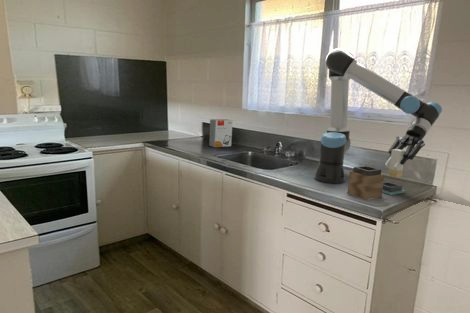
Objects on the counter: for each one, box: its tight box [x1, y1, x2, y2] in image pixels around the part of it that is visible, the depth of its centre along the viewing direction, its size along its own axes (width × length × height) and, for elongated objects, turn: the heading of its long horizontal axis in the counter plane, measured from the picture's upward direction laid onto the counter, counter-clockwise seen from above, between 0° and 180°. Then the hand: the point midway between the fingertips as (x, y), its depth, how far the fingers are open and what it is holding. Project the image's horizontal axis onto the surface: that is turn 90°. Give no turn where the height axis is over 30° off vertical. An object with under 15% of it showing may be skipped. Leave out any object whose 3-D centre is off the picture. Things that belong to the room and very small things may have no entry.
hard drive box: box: [208, 118, 234, 148], centre depth 255 cm, size 16×8×20 cm, turn 125°
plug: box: [388, 149, 406, 178], centre depth 155 cm, size 4×4×12 cm
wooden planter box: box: [347, 165, 385, 201], centre depth 149 cm, size 10×10×12 cm
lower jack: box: [382, 180, 406, 196], centre depth 157 cm, size 10×10×3 cm
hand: (391, 167), depth 154 cm, fingers closed on plug, 4 cm apart
